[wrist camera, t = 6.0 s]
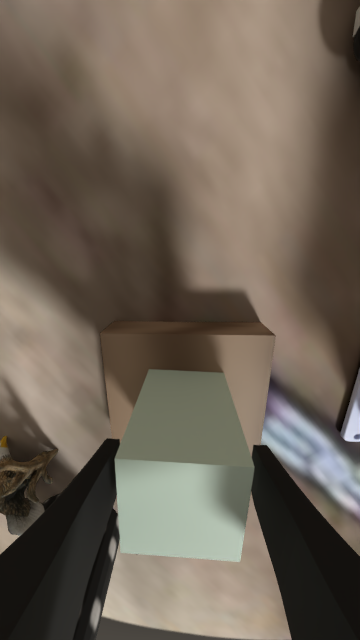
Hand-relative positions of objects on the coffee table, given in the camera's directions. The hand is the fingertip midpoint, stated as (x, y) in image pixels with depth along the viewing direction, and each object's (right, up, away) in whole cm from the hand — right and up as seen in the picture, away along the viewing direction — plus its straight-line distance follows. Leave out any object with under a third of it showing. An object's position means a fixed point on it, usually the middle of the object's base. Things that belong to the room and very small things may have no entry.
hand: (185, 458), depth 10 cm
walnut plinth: (0, +2, +6) cm, 6 cm away
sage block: (0, +1, +3) cm, 3 cm away
